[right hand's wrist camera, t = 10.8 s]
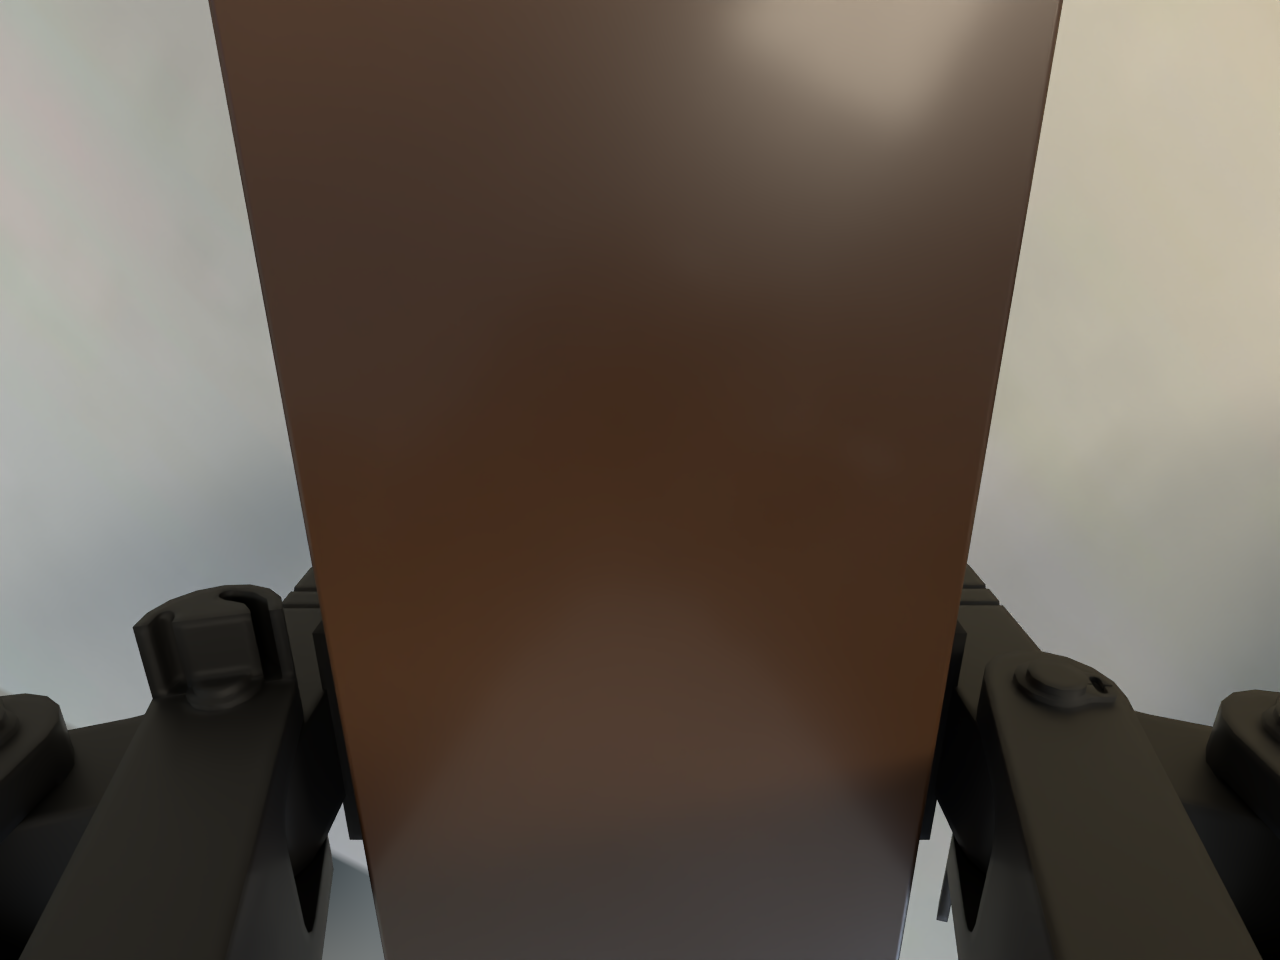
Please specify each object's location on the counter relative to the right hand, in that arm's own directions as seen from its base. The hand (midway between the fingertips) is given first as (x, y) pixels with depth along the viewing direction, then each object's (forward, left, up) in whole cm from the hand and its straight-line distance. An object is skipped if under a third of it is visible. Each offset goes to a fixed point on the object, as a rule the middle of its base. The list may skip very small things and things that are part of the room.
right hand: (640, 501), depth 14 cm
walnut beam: (0, -12, 0) cm, 12 cm away
